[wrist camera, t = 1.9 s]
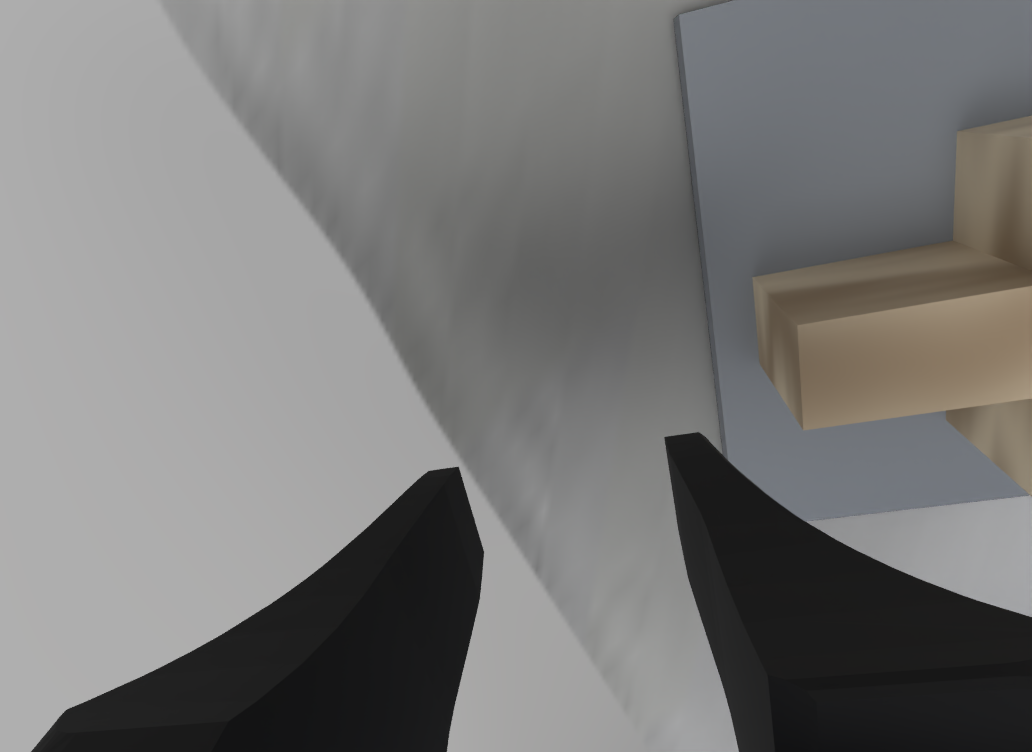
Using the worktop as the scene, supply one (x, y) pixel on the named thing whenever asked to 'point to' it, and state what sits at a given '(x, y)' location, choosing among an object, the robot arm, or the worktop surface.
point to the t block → (922, 317)
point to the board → (837, 208)
